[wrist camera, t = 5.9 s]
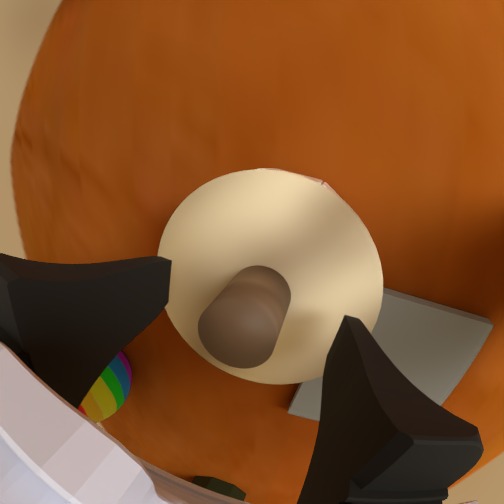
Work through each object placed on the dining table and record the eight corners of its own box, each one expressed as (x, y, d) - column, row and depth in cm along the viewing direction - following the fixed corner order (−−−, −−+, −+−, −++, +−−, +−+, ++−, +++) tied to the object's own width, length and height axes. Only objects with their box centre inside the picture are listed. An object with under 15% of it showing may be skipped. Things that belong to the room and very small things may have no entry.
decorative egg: (96, 310, 24) (20, 361, 14) (154, 372, 24) (92, 442, 14) (78, 345, 27) (20, 390, 18) (126, 396, 27) (76, 451, 18)
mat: (488, 318, 14) (493, 325, 13) (412, 428, 18) (414, 436, 17) (343, 275, 16) (344, 281, 15) (289, 404, 20) (287, 413, 19)
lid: (425, 262, 11) (462, 306, 7) (291, 401, 15) (276, 458, 11) (224, 125, 12) (174, 109, 8) (141, 300, 16) (93, 335, 12)
